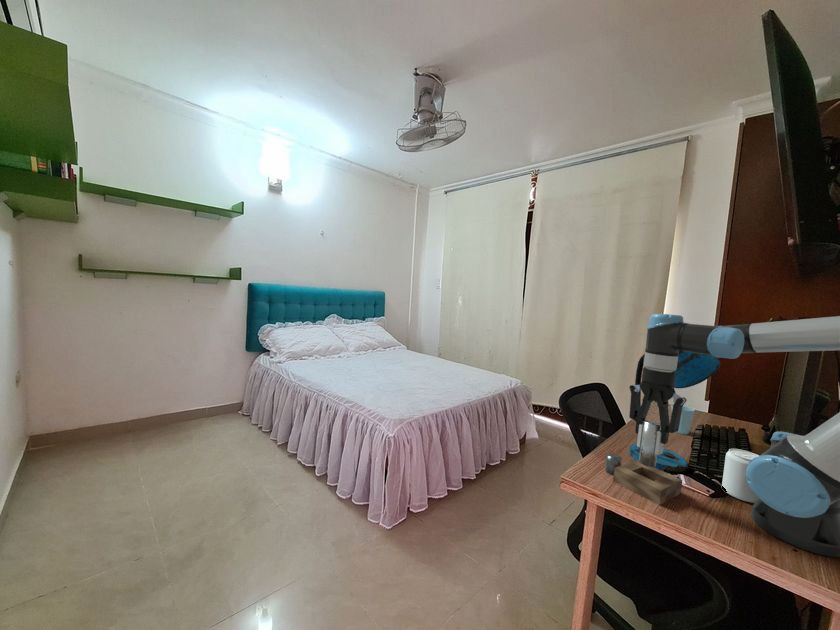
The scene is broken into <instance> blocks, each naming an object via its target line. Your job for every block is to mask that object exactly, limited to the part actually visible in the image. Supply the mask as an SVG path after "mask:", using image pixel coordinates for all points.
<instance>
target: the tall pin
mask: <svg viewBox="0 0 840 630" xmlns="http://www.w3.org/2000/svg"><path fill="white" fill-rule="evenodd" d="M659 430H661V425H660V422H658V421H655V420H651V419H645V420H644V422H643V431H642V439H641V447H640V455H639V462H640V463H641V464H643V465H645V466H648V467H656V460H657V454H655V447H656V439H657V431H659Z"/></svg>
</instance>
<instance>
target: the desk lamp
mask: <svg viewBox="0 0 840 630" xmlns="http://www.w3.org/2000/svg"><path fill="white" fill-rule="evenodd" d="M644 357H645V353H643V355H642V356H641V357H639V360H638V362H637V366H636V371H635V379H634V382H635V383H634V385H640V383H641V382H642V373H643V368H644ZM720 367H721V362H720V360H719V358H717V357H715V356H709V355H703V354H697V353H692V352H684V351H679V356H678V362H677V369H676V370H675V371H674V372H675V373H676V379H675V386H674V389H686V388H691V387H693V386H694V387H695V386H697V385H698V384H702V382H705V381H706V380H709V378H711V377H712V376H713V375H715V373H716V372H718V370H719V368H720ZM641 392H642V390H641V391H640V398H639V410H640V407H641V405H642V401H641V400H642V399H641V398H642V397H641V396H642V393H641ZM638 413H639V411H638ZM636 434H637V433H636ZM637 436H638V434H637ZM628 449H629V451H628V453H629V456H631V458H632V459H634V460H639V455H640V447H638V446H637V443H633V444H631V445H630V446H629V448H628ZM677 466H679V467H687V468H688V462H687V460H686V459H685V458H684V457H683V456H681V455H680V454H678V453H676V452H674V451H672V450H669V449H667V448H665V447H663V453H661V454H659V455H657V460H656V467H654V468H657V469H659V470H661V471H664V469H665V468H668V467H677Z"/></svg>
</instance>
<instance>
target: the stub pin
mask: <svg viewBox="0 0 840 630" xmlns="http://www.w3.org/2000/svg"><path fill="white" fill-rule="evenodd" d="M620 465H622V456H620V455H619V454H615V453H609V452H608V453H606V460H605V469H604V471H605V473H607V474H608V475H611V476H614V468H615V467H618V466H620Z"/></svg>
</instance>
